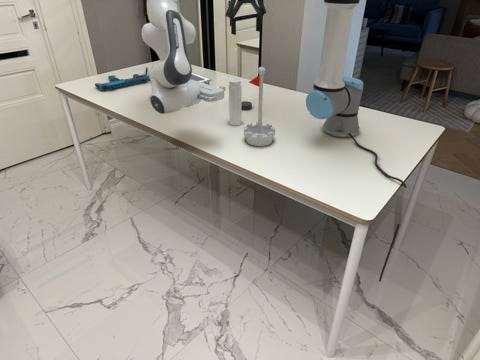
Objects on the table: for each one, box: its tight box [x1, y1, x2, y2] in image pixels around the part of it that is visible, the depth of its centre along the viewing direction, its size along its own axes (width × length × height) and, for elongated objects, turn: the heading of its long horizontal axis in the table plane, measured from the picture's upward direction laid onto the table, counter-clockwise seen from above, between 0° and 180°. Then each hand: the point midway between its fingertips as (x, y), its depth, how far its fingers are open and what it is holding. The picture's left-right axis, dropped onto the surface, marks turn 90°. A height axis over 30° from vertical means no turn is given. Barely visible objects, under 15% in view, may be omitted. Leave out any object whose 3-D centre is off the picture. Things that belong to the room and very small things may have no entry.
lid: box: [241, 100, 253, 111], centre depth 173 cm, size 7×7×2 cm
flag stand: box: [243, 66, 276, 147], centre depth 134 cm, size 13×13×30 cm
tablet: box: [190, 72, 212, 82], centre depth 217 cm, size 32×20×1 cm, turn 41°
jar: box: [228, 78, 242, 127], centre depth 152 cm, size 6×6×20 cm
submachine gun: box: [94, 73, 150, 91], centre depth 208 cm, size 34×4×25 cm
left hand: (216, 85), depth 139 cm, fingers open, 8 cm apart
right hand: (246, 32), depth 154 cm, fingers open, 13 cm apart
